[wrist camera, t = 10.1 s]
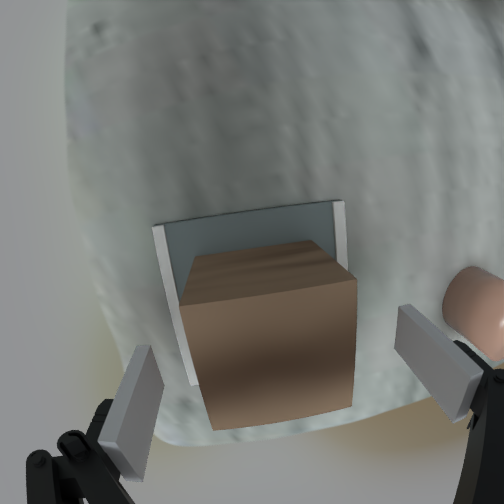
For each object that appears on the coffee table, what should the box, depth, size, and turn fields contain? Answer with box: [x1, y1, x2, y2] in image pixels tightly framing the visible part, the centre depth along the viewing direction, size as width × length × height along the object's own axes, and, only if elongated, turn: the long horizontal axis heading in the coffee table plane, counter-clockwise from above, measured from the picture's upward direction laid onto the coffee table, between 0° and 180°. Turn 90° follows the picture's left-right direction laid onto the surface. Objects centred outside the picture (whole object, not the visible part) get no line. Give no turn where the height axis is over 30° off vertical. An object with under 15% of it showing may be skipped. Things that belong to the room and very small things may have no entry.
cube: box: [179, 240, 357, 431], centre depth 18 cm, size 8×8×8 cm
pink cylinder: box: [442, 266, 504, 361], centre depth 21 cm, size 6×6×7 cm
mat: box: [152, 200, 348, 386], centre depth 22 cm, size 13×13×1 cm
